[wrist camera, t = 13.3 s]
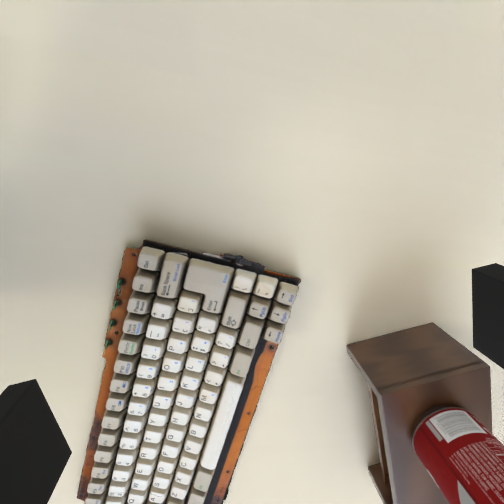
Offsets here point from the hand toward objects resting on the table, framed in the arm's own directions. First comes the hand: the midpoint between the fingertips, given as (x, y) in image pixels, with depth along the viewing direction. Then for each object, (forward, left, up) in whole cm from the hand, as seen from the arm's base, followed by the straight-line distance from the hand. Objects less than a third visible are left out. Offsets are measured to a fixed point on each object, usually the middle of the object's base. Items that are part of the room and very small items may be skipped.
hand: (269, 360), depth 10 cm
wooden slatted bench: (+15, -29, -26) cm, 42 cm away
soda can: (+15, -25, -17) cm, 33 cm away
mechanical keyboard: (-12, -20, -26) cm, 35 cm away
